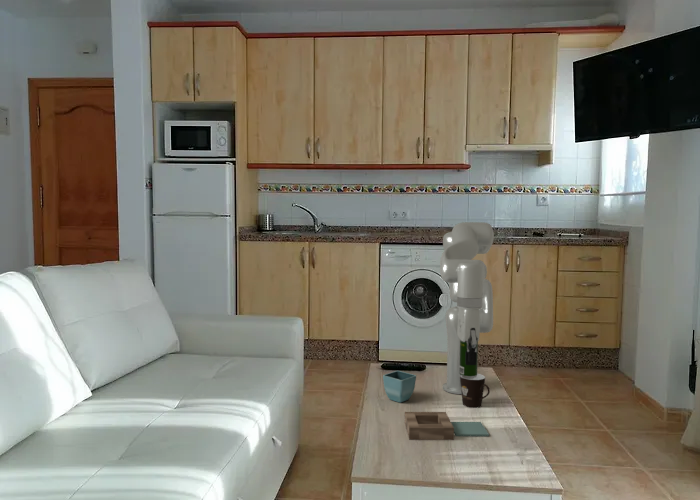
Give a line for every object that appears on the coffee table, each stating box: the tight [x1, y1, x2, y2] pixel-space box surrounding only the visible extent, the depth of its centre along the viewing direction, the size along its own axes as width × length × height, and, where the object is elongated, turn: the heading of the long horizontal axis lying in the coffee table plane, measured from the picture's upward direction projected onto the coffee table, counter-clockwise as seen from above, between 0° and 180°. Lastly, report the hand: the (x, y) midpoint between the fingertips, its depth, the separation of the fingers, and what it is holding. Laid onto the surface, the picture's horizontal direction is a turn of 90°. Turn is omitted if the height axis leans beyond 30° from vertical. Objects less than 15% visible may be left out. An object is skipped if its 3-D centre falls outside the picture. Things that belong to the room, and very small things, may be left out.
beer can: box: [459, 338, 479, 378], centre depth 161 cm, size 5×5×12 cm
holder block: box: [403, 411, 455, 441], centre depth 161 cm, size 13×13×4 cm
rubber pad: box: [451, 421, 490, 437], centre depth 162 cm, size 10×10×1 cm
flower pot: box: [382, 370, 417, 403], centre depth 189 cm, size 9×9×9 cm
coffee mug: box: [460, 372, 490, 409], centre depth 183 cm, size 12×9×10 cm
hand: (468, 361), depth 161 cm, fingers closed on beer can, 5 cm apart
